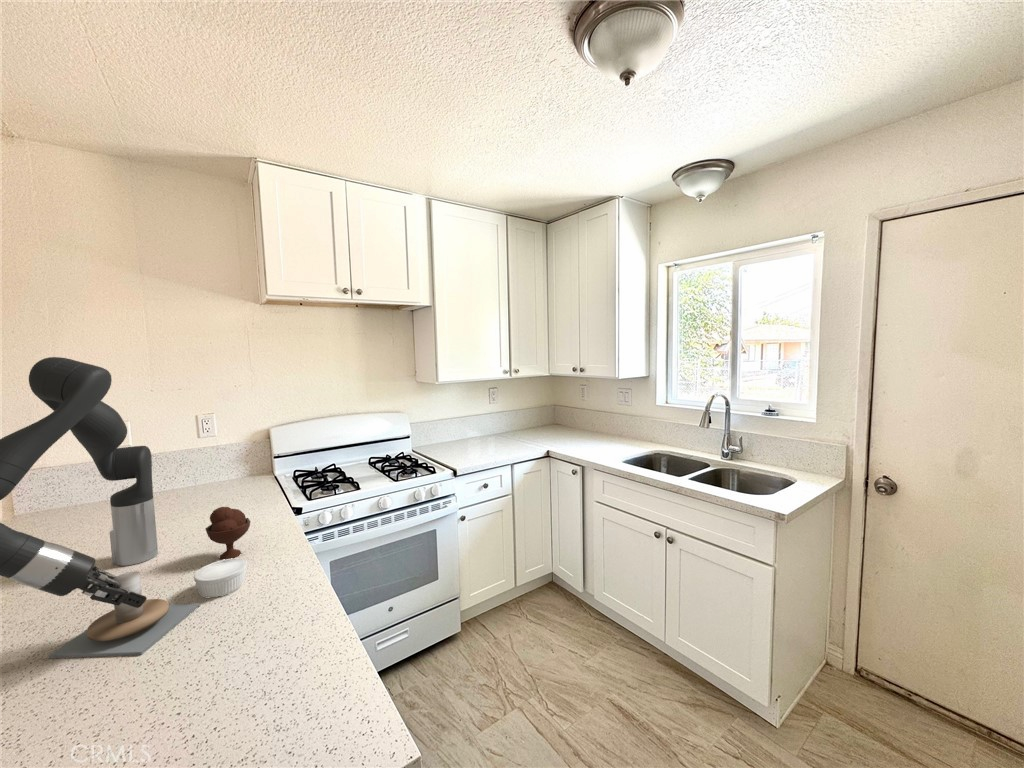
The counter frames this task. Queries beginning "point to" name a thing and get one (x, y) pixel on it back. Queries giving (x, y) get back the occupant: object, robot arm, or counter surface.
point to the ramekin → (221, 577)
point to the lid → (127, 613)
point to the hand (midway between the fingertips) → (140, 598)
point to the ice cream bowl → (227, 529)
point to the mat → (126, 638)
